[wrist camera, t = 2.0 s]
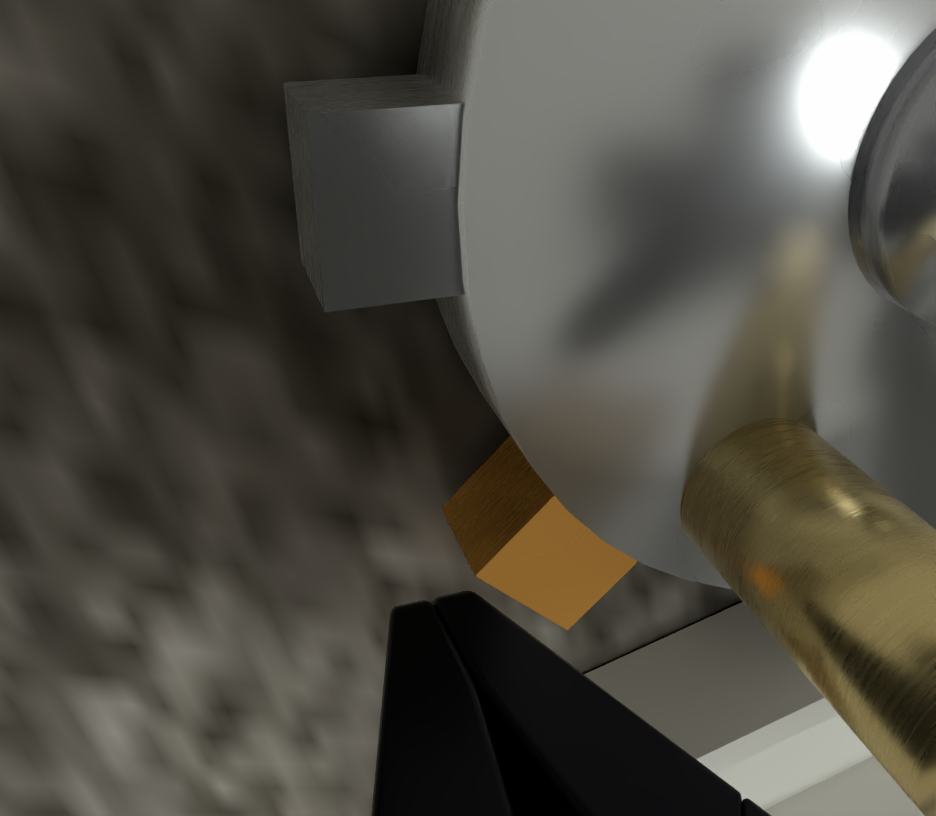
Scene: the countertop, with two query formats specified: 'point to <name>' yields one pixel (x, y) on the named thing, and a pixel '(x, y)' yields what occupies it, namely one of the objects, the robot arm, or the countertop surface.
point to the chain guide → (753, 719)
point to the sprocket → (673, 306)
